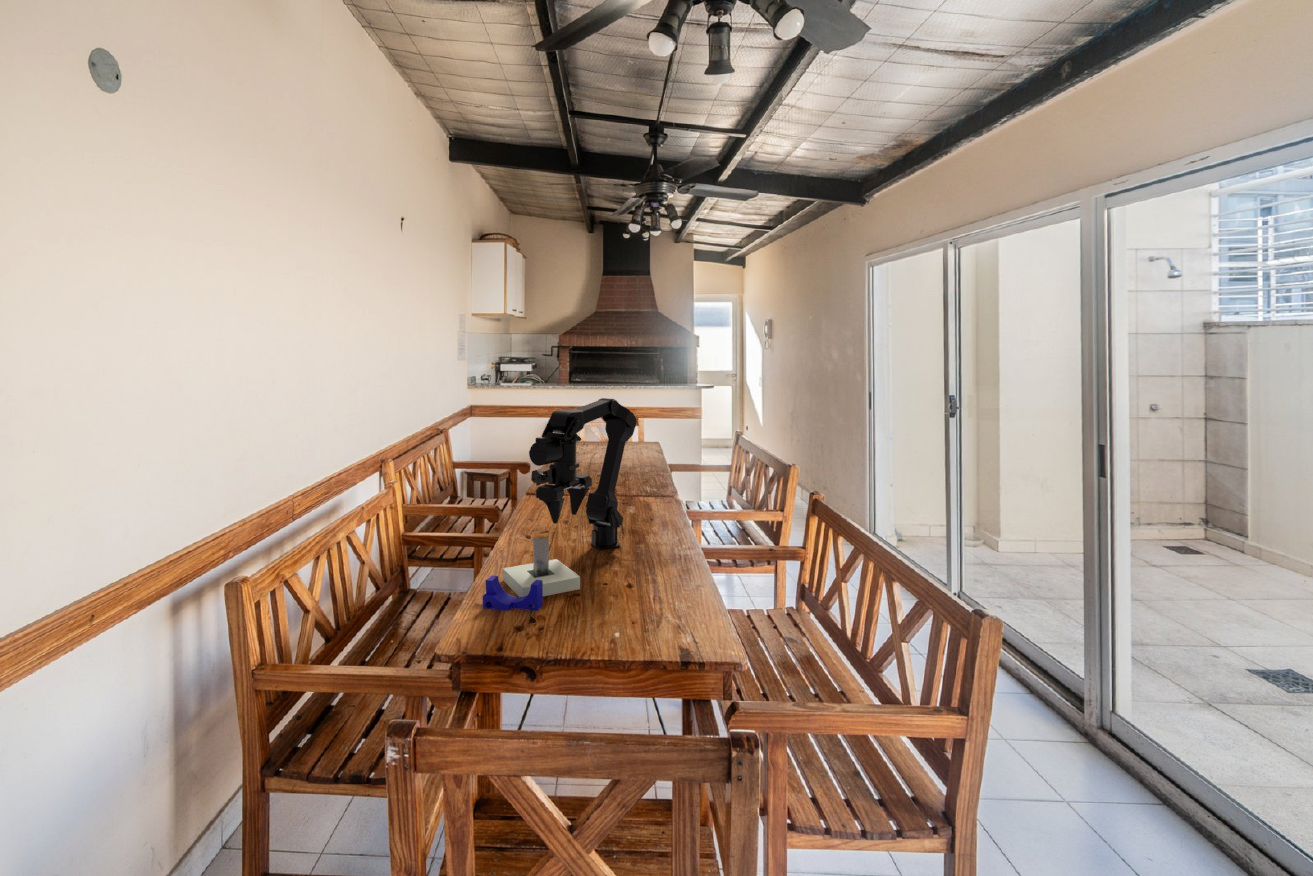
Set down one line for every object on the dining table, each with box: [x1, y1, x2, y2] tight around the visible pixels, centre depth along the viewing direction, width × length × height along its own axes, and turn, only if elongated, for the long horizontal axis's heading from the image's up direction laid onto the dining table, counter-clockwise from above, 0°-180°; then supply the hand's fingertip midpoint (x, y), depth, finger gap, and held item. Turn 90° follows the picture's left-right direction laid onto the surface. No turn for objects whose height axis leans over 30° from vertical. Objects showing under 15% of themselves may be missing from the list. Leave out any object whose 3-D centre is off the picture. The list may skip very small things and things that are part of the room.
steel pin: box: [532, 529, 550, 578], centre depth 151 cm, size 4×4×13 cm
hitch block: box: [502, 558, 581, 597], centre depth 152 cm, size 14×14×3 cm
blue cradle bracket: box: [482, 574, 544, 612], centre depth 139 cm, size 12×4×6 cm, turn 79°
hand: (564, 518), depth 165 cm, fingers open, 9 cm apart
